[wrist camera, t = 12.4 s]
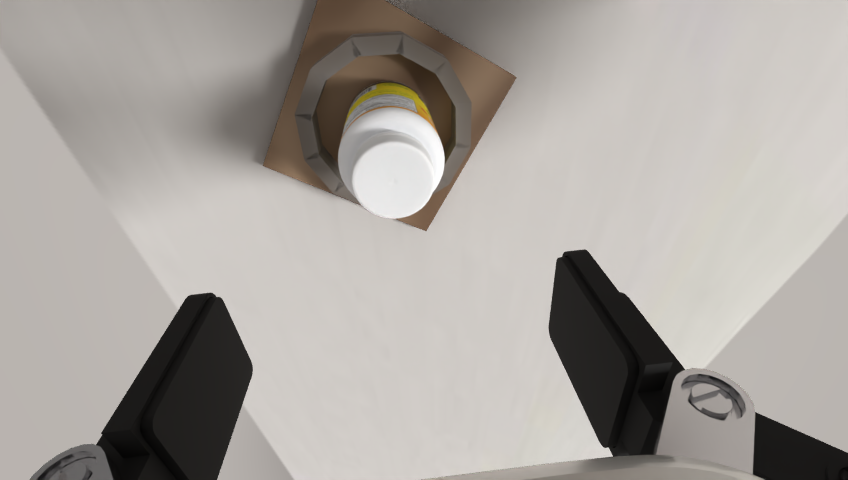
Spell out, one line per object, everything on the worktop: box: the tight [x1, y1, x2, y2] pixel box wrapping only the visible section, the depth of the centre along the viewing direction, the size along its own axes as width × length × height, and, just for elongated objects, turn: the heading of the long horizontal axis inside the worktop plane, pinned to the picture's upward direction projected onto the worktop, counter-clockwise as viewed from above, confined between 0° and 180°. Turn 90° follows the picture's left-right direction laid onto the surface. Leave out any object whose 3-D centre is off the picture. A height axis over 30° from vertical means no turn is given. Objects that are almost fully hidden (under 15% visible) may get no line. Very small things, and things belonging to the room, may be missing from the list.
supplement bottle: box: [338, 81, 445, 219], centre depth 23 cm, size 6×6×10 cm
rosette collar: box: [263, 0, 516, 231], centre depth 27 cm, size 13×13×3 cm
